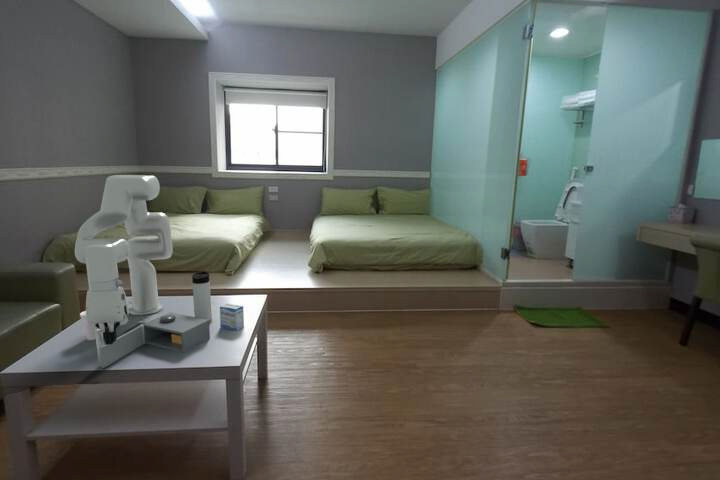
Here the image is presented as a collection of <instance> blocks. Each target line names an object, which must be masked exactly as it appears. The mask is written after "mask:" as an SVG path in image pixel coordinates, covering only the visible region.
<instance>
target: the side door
mask: <svg viewBox="0 0 720 480" xmlns="http://www.w3.org/2000/svg"><path fill="white" fill-rule="evenodd" d="M95 336H96V339H95V343H96V344H95V345H96V350H97V351H96V353H97V362H98V367H99V368H101V369H104V368H106V367H108V366H110V365H111V364H113V363H115V362H116V361H118V360H120V359H121V358H123V357H125V356H126V355H128V354H129V353H132V351H134V350H136V349H137V348H139V347H141V346H143V345H145V344H146V343H145V338H144V327H143V325H140V326H138V327H137V328H135V329H133V330H131V331H129V332H127V333H125V334H124V335H122V336H120V337H118V336H117V337H118V338H117V339H116V341H115V342H114V343H113V344H112V345H109V344H108V345H106V344H105V342H104V338H103V332H101V330H100V329H96V330H95Z"/></svg>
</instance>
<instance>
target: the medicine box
mask: <svg viewBox="0 0 720 480" xmlns="http://www.w3.org/2000/svg"><path fill="white" fill-rule="evenodd" d="M219 323H220V325H219V327H220V329H225V330H230V331H240V330H242V329H243V328H244V327H245V316H244V306H243V305H238V304H231V303H224V304H222V305H221V306H219Z"/></svg>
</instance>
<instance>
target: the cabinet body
mask: <svg viewBox="0 0 720 480" xmlns="http://www.w3.org/2000/svg"><path fill="white" fill-rule="evenodd" d="M143 323H144V324H143V327H144V338H145V344H146V345H152V346H156V347H159V348H164V349H168V350H172V351H177V352H181V353H186V352H188V351H190V350H191V349H193V348H195V347H197V346H198V345H200V344H202V343H204V342H206V341H208V340H209V339H211V333H210V323H209V320H207V319H202V318H197V317H195V316H189V315H186V314H185V315H184V314H179V313H176V312H168V313H166V314H164V315H161V316H159V317H156V318H155V319H152V320H149V321H147V322H143Z"/></svg>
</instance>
